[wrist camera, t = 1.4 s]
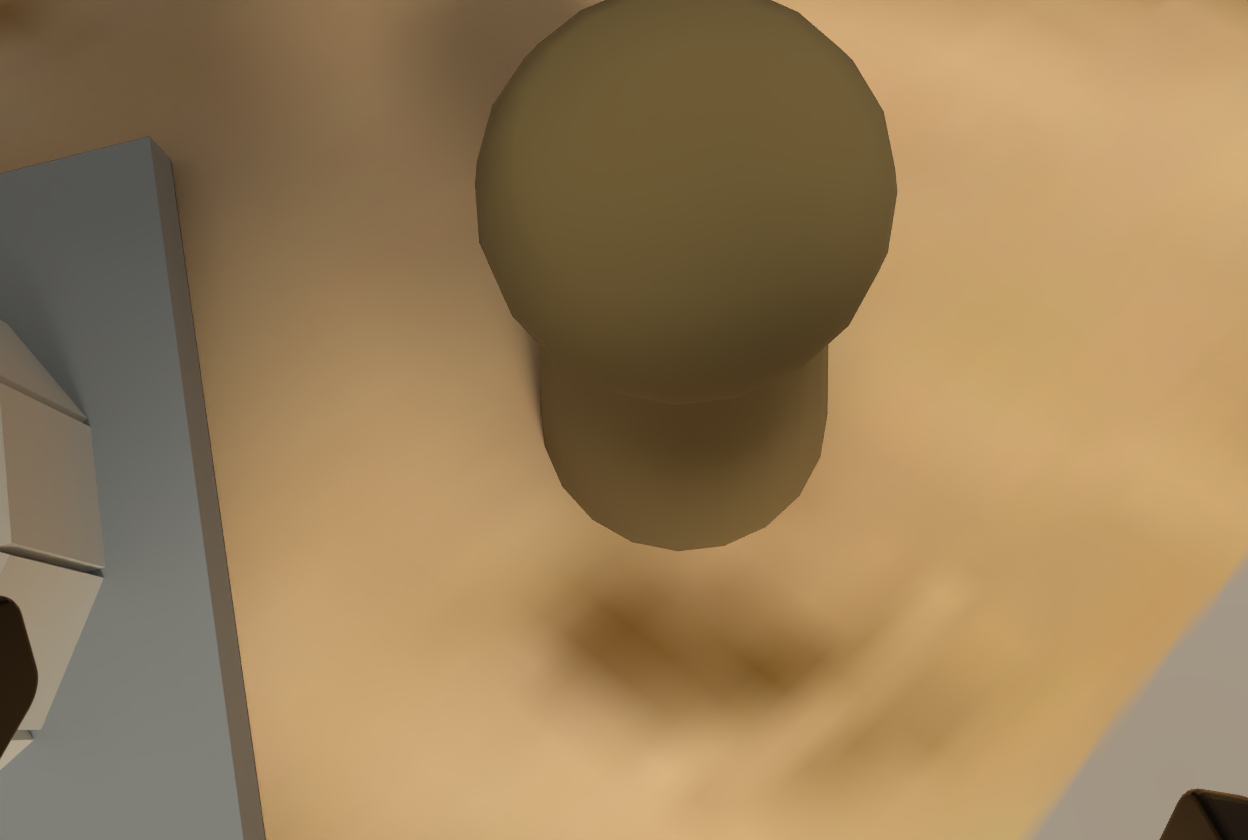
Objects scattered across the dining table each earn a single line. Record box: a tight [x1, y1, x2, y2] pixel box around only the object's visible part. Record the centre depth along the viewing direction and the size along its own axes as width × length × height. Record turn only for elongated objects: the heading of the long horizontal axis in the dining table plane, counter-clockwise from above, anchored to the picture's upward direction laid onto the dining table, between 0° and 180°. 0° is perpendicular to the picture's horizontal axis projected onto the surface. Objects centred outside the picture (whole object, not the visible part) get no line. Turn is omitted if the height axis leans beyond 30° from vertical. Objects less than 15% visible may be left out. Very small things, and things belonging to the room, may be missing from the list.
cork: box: [475, 0, 897, 551], centre depth 17 cm, size 6×6×11 cm
